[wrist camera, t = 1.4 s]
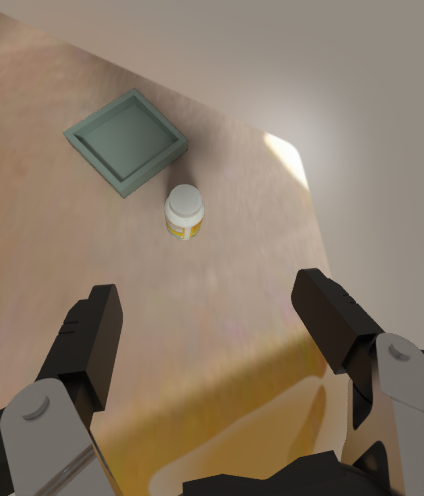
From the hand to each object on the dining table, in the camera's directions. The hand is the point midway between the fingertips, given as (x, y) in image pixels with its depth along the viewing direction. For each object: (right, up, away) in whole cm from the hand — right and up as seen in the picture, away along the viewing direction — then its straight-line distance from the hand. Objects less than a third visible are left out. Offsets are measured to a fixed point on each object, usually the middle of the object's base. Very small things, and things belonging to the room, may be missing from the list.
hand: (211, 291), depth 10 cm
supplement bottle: (-5, +6, +27) cm, 28 cm away
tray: (-14, +19, +28) cm, 37 cm away
